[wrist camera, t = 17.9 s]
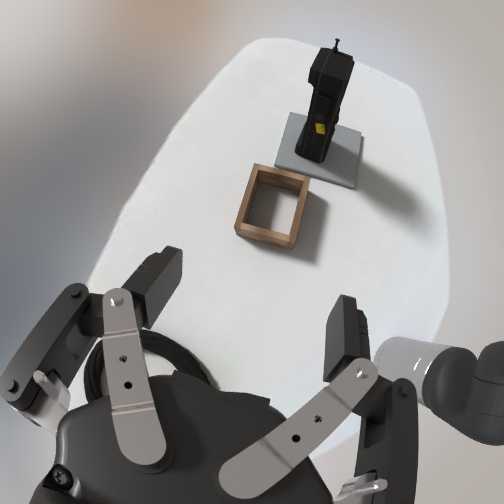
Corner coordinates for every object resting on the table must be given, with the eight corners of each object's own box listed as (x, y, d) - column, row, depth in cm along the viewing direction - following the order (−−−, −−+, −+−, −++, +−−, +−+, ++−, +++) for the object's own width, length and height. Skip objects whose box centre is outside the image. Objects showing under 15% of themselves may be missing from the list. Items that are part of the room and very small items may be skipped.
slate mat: (360, 134, 52) (361, 132, 51) (353, 188, 49) (354, 186, 48) (289, 114, 53) (289, 111, 52) (274, 166, 51) (274, 164, 50)
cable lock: (117, 297, 44) (257, 401, 40) (126, 298, 47) (258, 393, 43) (64, 398, 40) (179, 489, 36) (74, 394, 43) (183, 480, 40)
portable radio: (321, 169, 49) (358, 76, 25) (291, 158, 50) (309, 59, 25) (331, 140, 50) (366, 47, 26) (304, 129, 51) (324, 33, 27)
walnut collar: (306, 189, 50) (310, 177, 45) (291, 249, 48) (294, 243, 43) (255, 175, 50) (254, 163, 46) (236, 234, 48) (233, 226, 43)
